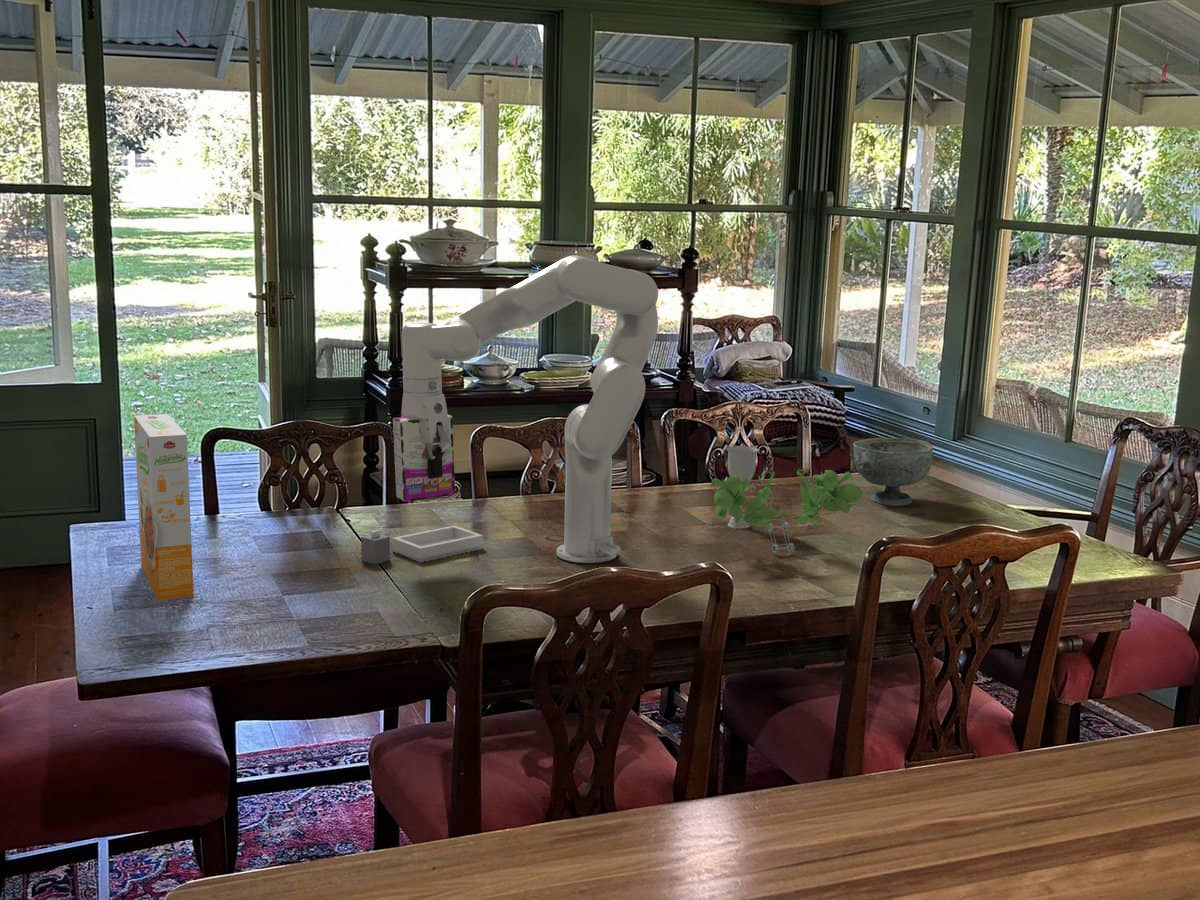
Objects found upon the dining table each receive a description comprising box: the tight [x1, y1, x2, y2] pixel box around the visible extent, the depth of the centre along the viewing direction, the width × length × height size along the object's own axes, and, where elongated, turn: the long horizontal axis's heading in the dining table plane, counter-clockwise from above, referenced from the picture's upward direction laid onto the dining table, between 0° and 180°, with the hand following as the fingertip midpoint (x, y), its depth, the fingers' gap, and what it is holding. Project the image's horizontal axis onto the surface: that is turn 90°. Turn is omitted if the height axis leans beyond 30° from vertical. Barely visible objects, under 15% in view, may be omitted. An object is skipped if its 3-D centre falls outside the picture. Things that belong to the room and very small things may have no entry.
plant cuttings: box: [702, 469, 865, 556], centre depth 263 cm, size 35×17×22 cm
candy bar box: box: [392, 414, 456, 503], centre depth 245 cm, size 11×5×16 cm, turn 120°
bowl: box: [852, 437, 934, 507], centre depth 308 cm, size 20×19×15 cm
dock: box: [391, 525, 484, 563], centre depth 256 cm, size 10×16×3 cm, turn 133°
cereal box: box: [133, 413, 195, 601], centre depth 229 cm, size 22×6×30 cm, turn 27°
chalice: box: [726, 445, 759, 529], centre depth 280 cm, size 7×7×18 cm
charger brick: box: [360, 529, 391, 565], centre depth 247 cm, size 4×4×6 cm
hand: (424, 474), depth 246 cm, fingers closed on candy bar box, 5 cm apart
